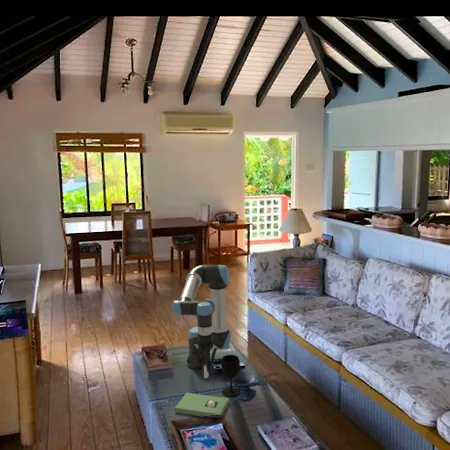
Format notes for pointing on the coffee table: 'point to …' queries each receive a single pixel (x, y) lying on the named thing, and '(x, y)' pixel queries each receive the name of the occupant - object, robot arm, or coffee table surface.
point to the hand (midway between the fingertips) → (206, 376)
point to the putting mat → (201, 405)
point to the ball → (211, 404)
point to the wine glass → (230, 373)
